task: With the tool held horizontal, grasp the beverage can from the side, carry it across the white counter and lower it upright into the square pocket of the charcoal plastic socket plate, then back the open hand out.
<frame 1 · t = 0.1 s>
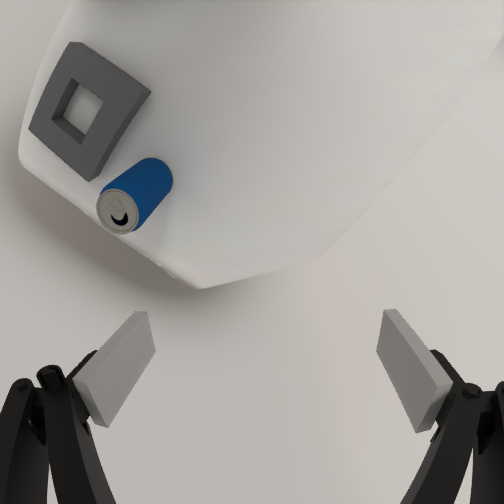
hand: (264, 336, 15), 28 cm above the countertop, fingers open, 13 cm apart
socket plate: (86, 108, 33), on the countertop
beverage can: (154, 176, 39), on the countertop
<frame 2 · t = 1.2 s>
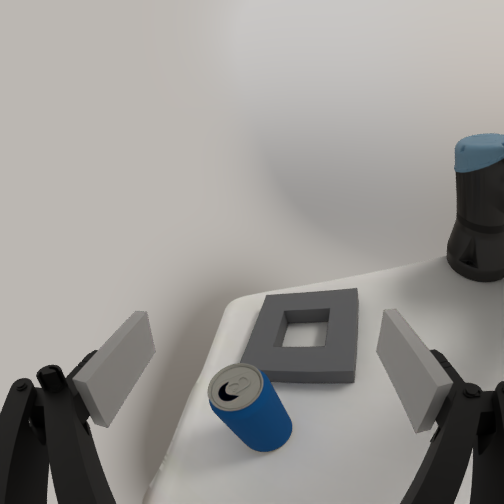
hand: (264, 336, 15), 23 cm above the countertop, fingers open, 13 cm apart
socket plate: (306, 339, 42), on the countertop
beverage can: (268, 432, 30), on the countertop
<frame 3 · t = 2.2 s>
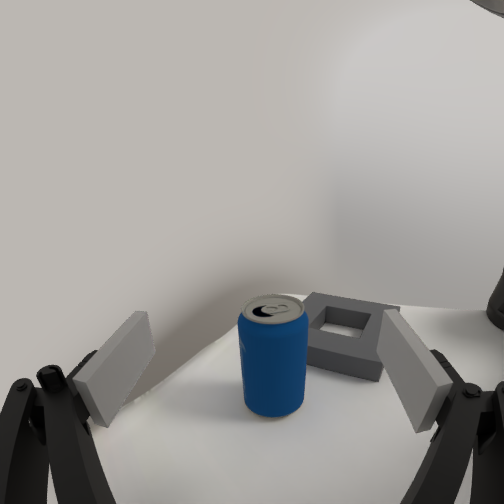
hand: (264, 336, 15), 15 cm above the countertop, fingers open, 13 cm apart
socket plate: (339, 337, 40), on the countertop
beverage can: (274, 402, 28), on the countertop
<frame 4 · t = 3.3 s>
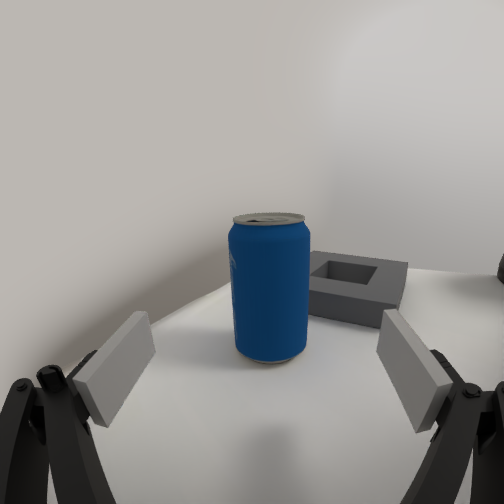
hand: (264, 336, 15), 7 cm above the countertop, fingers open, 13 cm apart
socket plate: (344, 292, 37), on the countertop
beverage can: (271, 349, 25), on the countertop
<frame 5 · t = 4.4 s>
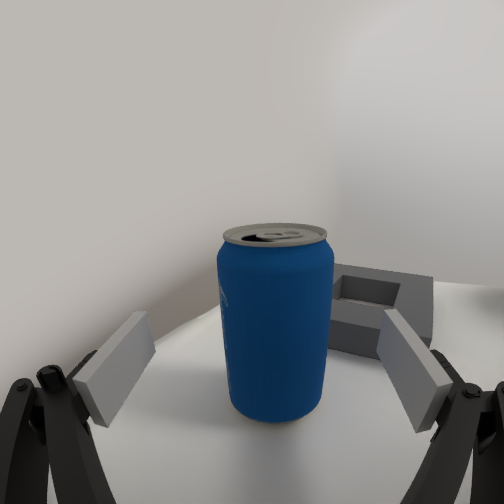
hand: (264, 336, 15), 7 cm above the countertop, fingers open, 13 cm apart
socket plate: (361, 314, 30), on the countertop
beverage can: (275, 399, 18), on the countertop
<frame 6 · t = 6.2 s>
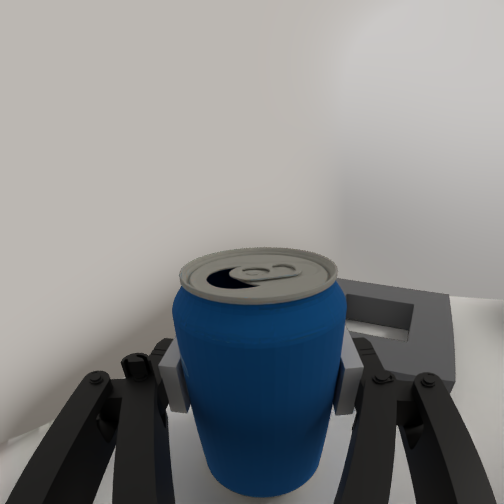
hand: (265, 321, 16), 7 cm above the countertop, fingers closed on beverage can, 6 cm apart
socket plate: (368, 341, 25), on the countertop
beverage can: (263, 460, 13), on the countertop, touching gripper
when the fingers open (8 cm above the countertop, at t = 12.1 s): beverage can stays where it is, resting in socket plate.
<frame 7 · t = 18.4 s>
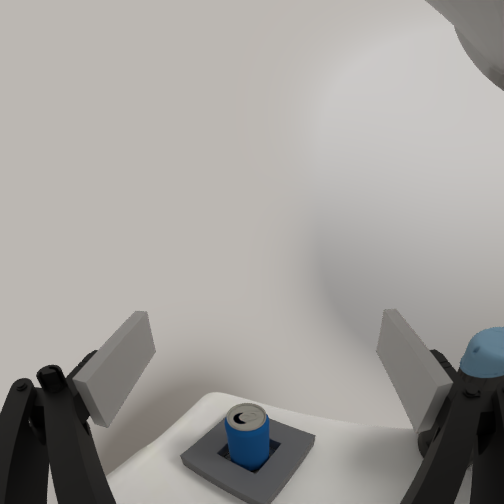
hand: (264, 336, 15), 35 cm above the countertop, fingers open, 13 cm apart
socket plate: (250, 458, 38), on the countertop
beverage can: (250, 458, 38), resting in socket plate
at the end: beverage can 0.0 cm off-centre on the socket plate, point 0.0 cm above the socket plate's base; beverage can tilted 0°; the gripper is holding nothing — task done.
